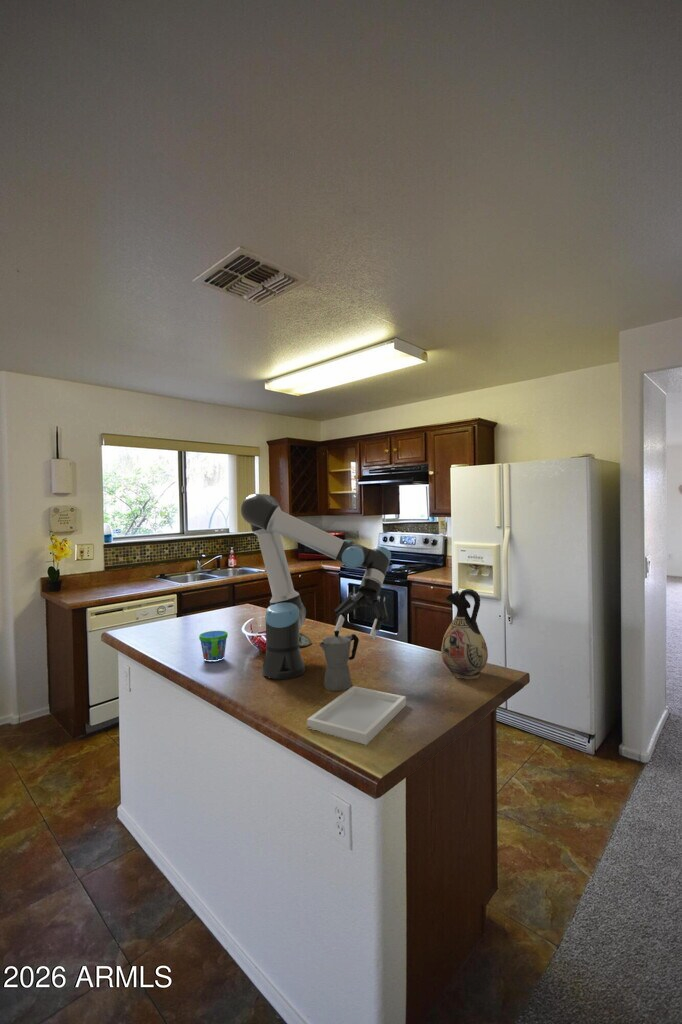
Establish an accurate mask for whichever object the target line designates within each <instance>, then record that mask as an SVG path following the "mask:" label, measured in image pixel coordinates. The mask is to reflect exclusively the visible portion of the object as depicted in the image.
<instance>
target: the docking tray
mask: <svg viewBox="0 0 682 1024" xmlns="http://www.w3.org/2000/svg"><path fill="white" fill-rule="evenodd" d="M406 706H407V696H405V695H400V694H394V693H390V692H385V691H380V690H375V689H370V688H365V687H360V686H355V685H353V686H351V687H350V688H349V689H347V690H345V691H344V692H343V693H342V694H340V695H339V696H337V697H336V698H334V699H333V700H331V701H330V702H329V703H327V704H326V705H325V706H323V707H322V708H320V709H319V710H318V711H316V712H315V713H314V714H312V715H311V716H310V717H308V718H307V719H306V729H307V728H311V729H314V730H318V731H321V732H324V733H323V734H325V733H328V734H330V735H329V736H332V735H334V736H333V737H336V736H337V738H339V737H340V738H339V739H344V740H346V739H347V741H350V742H354V743H358V744H361V745H364V746H367V745H368V744H369V743H370V742H371V740H373V739H374V738H375V736H377V735H378V734H379V733H381V731H382V730H383V729H384V728H385V727H386V726H387V725H388V724H389V723H390V722H391V721H392V720H393V718H394V719H395V717H396V716H397V715H398V714H399V712H401V711H402V710H403V708H405V707H406ZM314 730H313V731H314ZM321 732H320V733H321ZM328 734H327V735H328Z"/></svg>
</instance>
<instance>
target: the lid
mask: <svg viewBox="0 0 682 1024" xmlns="http://www.w3.org/2000/svg"><path fill="white" fill-rule="evenodd" d="M311 643H312V640H311V638H310V637H309V636H307V635H306V634H305V633H304V634H303V633H300V632H299V648H304V647H303V646H306V647H308V645H309V646H310V645H311Z"/></svg>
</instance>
